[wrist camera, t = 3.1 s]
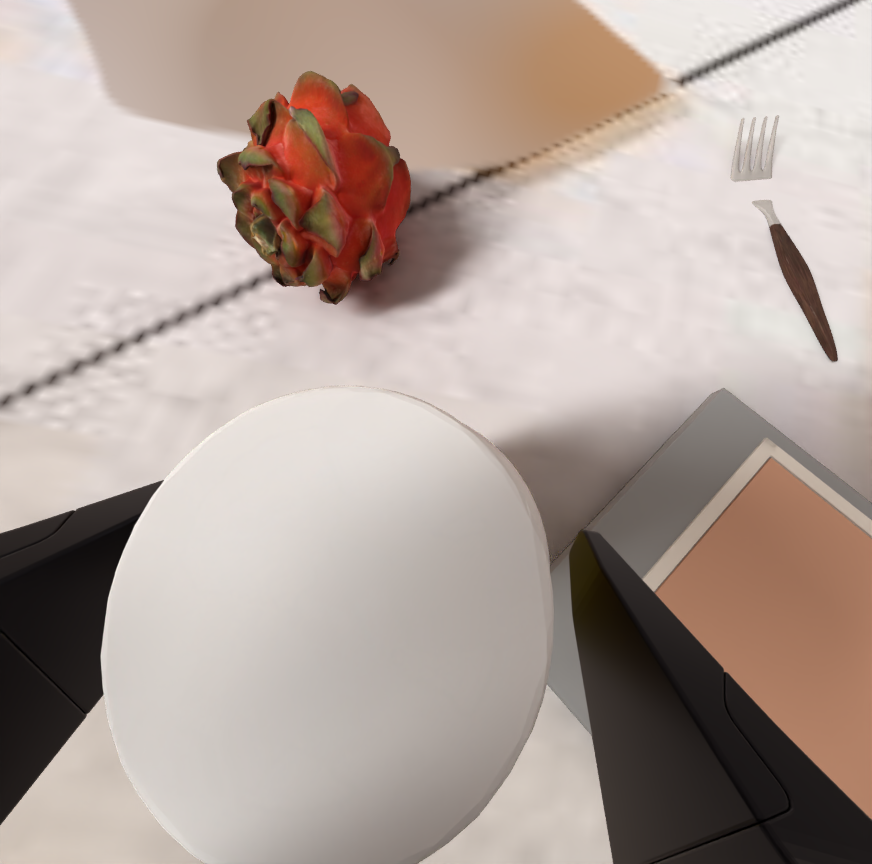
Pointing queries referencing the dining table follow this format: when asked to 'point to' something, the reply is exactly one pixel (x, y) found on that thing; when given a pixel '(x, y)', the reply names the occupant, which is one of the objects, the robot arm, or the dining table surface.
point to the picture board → (751, 579)
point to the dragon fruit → (319, 187)
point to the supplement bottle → (329, 633)
